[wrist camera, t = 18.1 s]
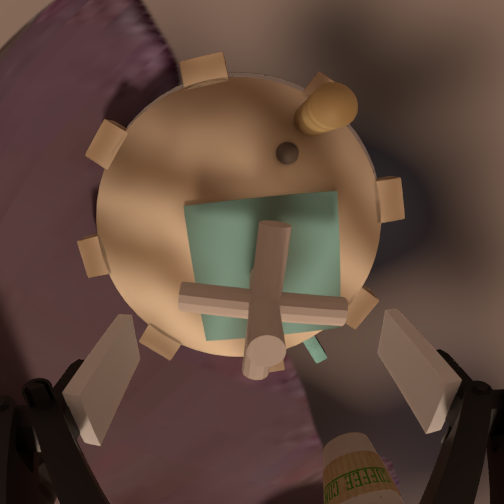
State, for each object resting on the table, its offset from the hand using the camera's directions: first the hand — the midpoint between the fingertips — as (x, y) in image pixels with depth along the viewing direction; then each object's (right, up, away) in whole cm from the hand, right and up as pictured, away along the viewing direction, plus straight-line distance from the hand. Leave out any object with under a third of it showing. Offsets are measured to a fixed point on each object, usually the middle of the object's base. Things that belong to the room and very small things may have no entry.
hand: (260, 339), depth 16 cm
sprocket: (-2, +7, +10) cm, 12 cm away
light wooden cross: (0, +3, +9) cm, 9 cm away
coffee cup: (+12, -21, +19) cm, 30 cm away
